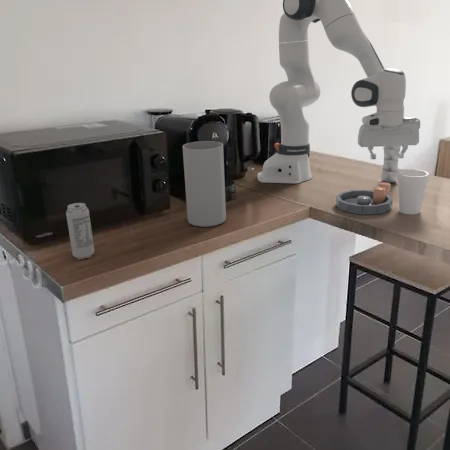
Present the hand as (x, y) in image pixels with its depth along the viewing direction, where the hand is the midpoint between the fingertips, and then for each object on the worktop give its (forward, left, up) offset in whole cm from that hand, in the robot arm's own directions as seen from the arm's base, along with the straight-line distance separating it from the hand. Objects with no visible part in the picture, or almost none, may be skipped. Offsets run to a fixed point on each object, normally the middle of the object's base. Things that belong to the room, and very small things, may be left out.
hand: (386, 158), depth 177 cm
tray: (-9, -9, -14) cm, 19 cm away
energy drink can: (-95, -46, -14) cm, 107 cm away
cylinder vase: (-62, -20, -14) cm, 67 cm away
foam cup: (+4, -15, -14) cm, 21 cm away
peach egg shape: (-4, -9, -13) cm, 16 cm away
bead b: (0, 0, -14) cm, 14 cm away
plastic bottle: (+7, +19, -14) cm, 25 cm away
